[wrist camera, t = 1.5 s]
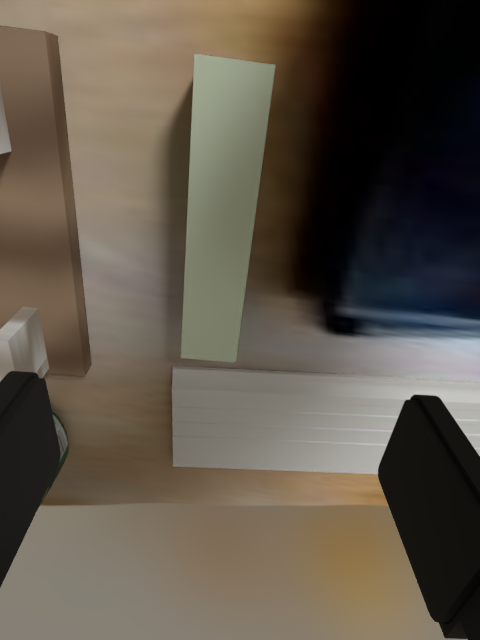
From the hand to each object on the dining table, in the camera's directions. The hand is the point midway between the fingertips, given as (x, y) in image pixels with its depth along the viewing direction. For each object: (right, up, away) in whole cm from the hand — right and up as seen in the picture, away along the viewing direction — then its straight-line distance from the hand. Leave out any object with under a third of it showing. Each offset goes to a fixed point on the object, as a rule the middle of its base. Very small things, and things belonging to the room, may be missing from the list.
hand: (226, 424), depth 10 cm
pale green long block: (-1, +9, +14) cm, 17 cm away
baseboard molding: (+10, -5, +23) cm, 26 cm away
